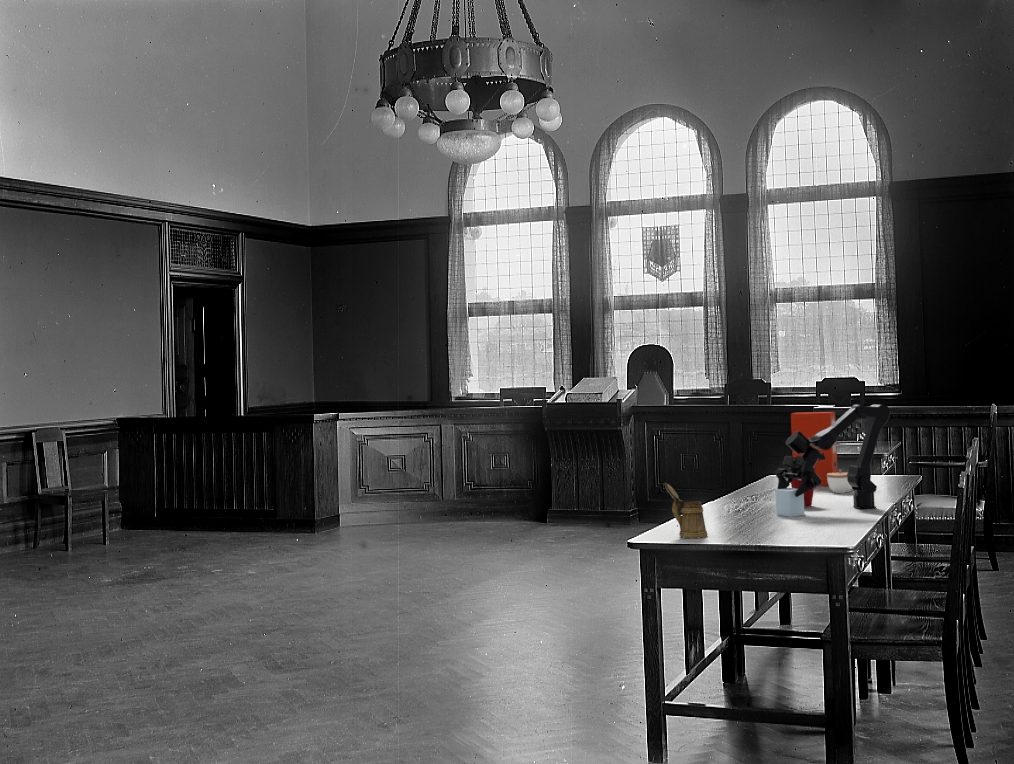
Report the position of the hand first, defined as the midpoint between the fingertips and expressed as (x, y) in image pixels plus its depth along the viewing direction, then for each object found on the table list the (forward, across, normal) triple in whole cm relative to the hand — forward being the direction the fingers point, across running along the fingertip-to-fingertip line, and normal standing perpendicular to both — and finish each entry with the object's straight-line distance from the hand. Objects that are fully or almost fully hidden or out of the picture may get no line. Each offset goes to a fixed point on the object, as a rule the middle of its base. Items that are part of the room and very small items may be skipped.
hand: (786, 495), depth 394 cm
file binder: (-46, -57, +57) cm, 93 cm away
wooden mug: (+43, +8, -32) cm, 54 cm away
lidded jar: (-38, -32, +49) cm, 69 cm away
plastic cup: (-10, -14, +21) cm, 27 cm away
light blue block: (+4, 0, +6) cm, 8 cm away
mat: (+6, +14, +5) cm, 15 cm away
